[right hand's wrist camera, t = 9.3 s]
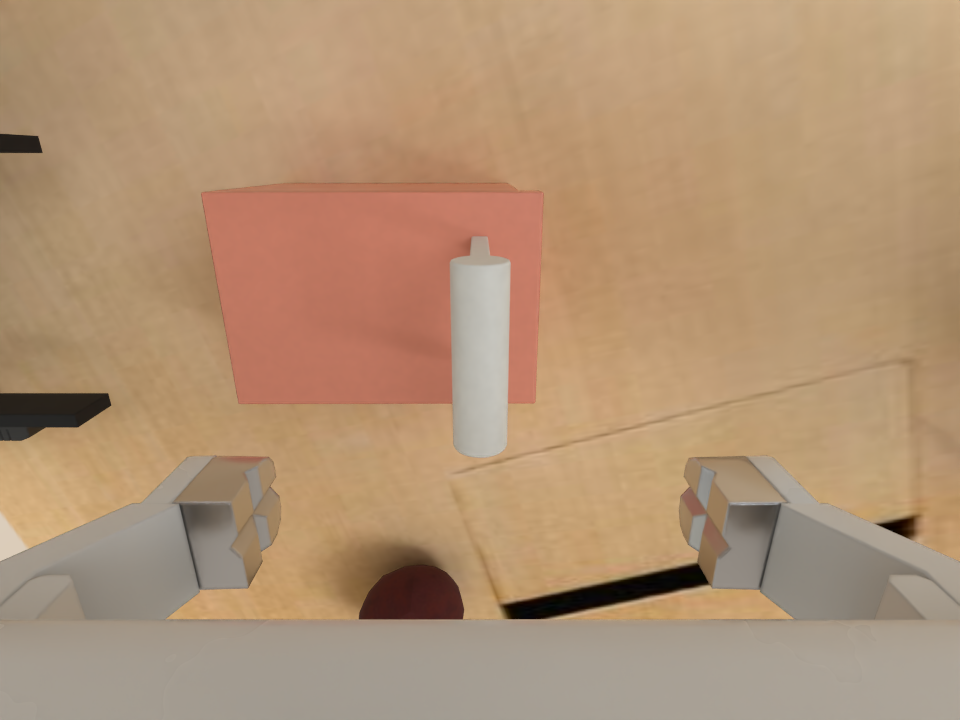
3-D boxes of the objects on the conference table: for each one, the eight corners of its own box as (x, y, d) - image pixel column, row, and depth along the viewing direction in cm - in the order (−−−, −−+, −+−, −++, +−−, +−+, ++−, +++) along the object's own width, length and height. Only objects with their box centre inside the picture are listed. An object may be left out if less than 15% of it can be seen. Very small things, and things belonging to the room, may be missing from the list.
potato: (350, 583, 41) (326, 663, 35) (417, 525, 39) (405, 598, 33) (419, 633, 43) (408, 718, 37) (486, 580, 41) (488, 660, 35)
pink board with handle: (540, 190, 23) (576, 206, 15) (532, 393, 26) (558, 500, 18) (213, 190, 23) (63, 206, 15) (248, 394, 26) (141, 501, 18)
